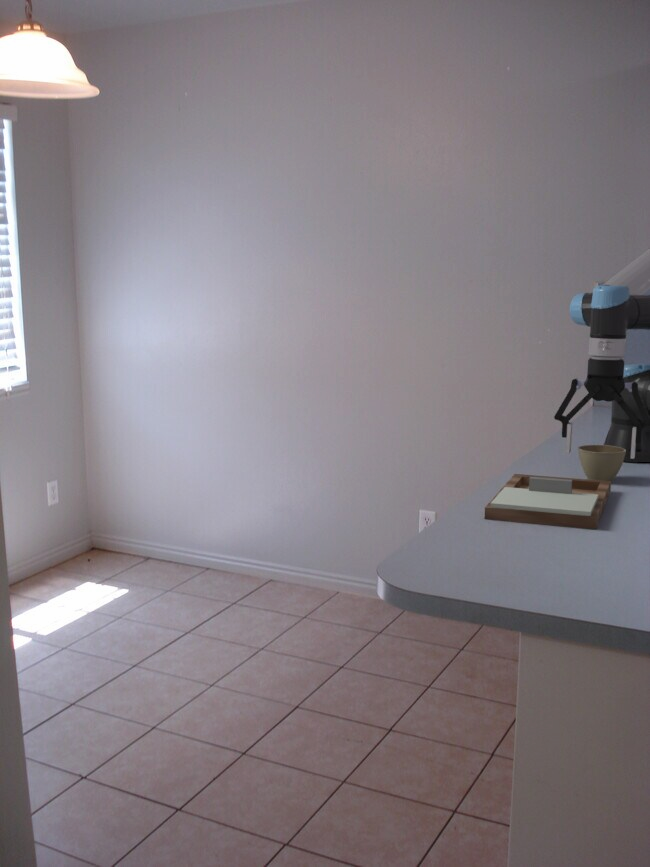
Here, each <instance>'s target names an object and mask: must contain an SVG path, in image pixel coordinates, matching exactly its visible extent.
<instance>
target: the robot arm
mask: <svg viewBox="0 0 650 867" xmlns="http://www.w3.org/2000/svg"><path fill="white" fill-rule="evenodd" d="M592 290H593V291H592V292H584V293H583V292H581V293H578V294H576V295H575V296H573V298H572V300H571V302H570V305H569V315H570V318H571V320H572V322H573V323H574V324H576V325H579V326H586V327H589V341H588V356H590V358H588V360H587V372H586V379H585V380H582V379H578V378H577V377H576V378H575V377H574V378H573V379H572V380H571V383H570V389H569V391H568V392H567V393H566V396H565V398H564V399H563V401H562V402H561V404H560V406H559V408H557V409H558V410H557V411H556V413H555V415H554V416H553V419H554V420H556V421H559V422H561V426H562V427H561V437H562V438H566V442H565V445H566V446H565V454H570V453H571V452H572V439H573V438H572V434H573V422H570V420H571V419H573V417H575V415H576V414H577V413H578V412H580V411H581V409H582V408H583V407H584V406H585V405H586V404H587V403H588V402H589V401H591V400H592V399H593V400H594V401H596V402H600V401H604V402H607V403H608V402H609V403H610V402H611V418H610V427H609V429H608V432H607V434H606V437H605V439H604V443H603V444H602V445H609V446H616V447H621V448H624V449H625V450H626V453H625V457H624V461H623V463H624V462H626V463H637V462H650V363H636V364H625V360H624V359H623V357H624V358H625V356H626V344H627V330H634V331H635V330H647V331H650V294H645V293H646V292H647V291H649V290H650V248H649V249H647V250H646V251H645V252H643V253H642V254H641V255H640V256H639V257H637V258H635V259H634V260H633V261H632V262H631V263H629V264H628V265H627V266H625V267H624V268H622V269H621V270H620V271H619V272H617V273H616V274H615V275H614V276H612V277H611V278H610V279H608V280H607V281H606V282H604V283H603V284H602V285H600V284H599V285H596V286H594V288H593V289H592ZM583 386H584V388H585V389H586V391H587V392H588V393H587V394H586V395H585V396H583V398H582V399H581V400H580V401H579V402H578V403H577V404H576V405H575V406H574V407H573V408H572V409H571V410H570V411H569V412H568V413H567V414H566V415H563V414H564V412H565V411H566V409H567V408H568V406H569V404H570V403H571V401H572V400H573V397H574V395H575V394H576V393H577V391H578V390H580V389H581V388H582V387H583Z"/></svg>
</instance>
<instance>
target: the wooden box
mask: <svg viewBox="0 0 650 867" xmlns="http://www.w3.org/2000/svg"><path fill="white" fill-rule="evenodd" d="M530 477H541V478H554V479H568V480H572V492H573V493H585V494H597V495H598V500H597V502H596V505H595V507H594V509H593V512H592V514H591V516H582V515H571V514H560V513H548V512H537V511H526V510H515V509H504V508H492V507H491V502H492V501H493V500H494V499H495V498H496V497H497V495H498V494H499V493H500V492H501V491H502V490H503V489H504V487H511V488H524V489H529V478H530ZM611 483H612V482H611V481H602V480H589V479H588V478H575V477H564V476H563V477H561V476H547V475H536V474H535V475H533V474H519V473H514V474H513V475H512V476H511V477H510V478H509V480H508V481H506V483H505V484H504V485H503V487H501V488H500V490H498V492H497V493H496V494H495V495H494V497H492V499H491V500H490V501H489V503H487V504H486V505H485V506H484V519H485V520H492V521H493V520H494V521H503V522H515V523H524V524H535V525H545V526H555V527H567V528H577V529H589V530H597V527H598V524H599V522H600V519H601V517H602V513H603V511H604V510H605V507H606V504H607V501H608V499H609V497H610V493H611V489H612V487H611V486H612V484H611Z"/></svg>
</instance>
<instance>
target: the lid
mask: <svg viewBox="0 0 650 867" xmlns="http://www.w3.org/2000/svg"><path fill="white" fill-rule="evenodd" d="M503 487H504V486H503ZM597 500H598V495H597V494H585V493H573V492H572V480H568V479H554V478H541V477H530V478H529V489H524V488H511V487H504V489H503V490H502V491H501V492H500V493H499V494H498V495H497V497H496V498H495V499H494V500H493V501H492V502H491V507H492V508H504V509H515V510H526V511H537V512H548V513H560V514H571V515H582V516H591V514H592V512H593V509H594V507H595V505H596V502H597Z"/></svg>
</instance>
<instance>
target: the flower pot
mask: <svg viewBox="0 0 650 867" xmlns="http://www.w3.org/2000/svg"><path fill="white" fill-rule="evenodd" d="M625 453H626V450H625V449H624V448H621V447H616V446H609V445H603V444H583V445H580V446H578V456H579V461H580V465H581V468H582V470H583V472H584V474H585V476H586V479H589V480H602V481H611V483H612V482H613V481H614V479H615V478H616V477H617V475H618V473H619V472H620V470H621V468H622V466H623V463H624V457H625Z"/></svg>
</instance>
